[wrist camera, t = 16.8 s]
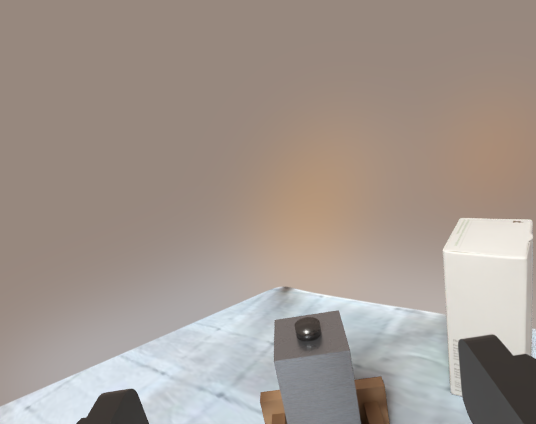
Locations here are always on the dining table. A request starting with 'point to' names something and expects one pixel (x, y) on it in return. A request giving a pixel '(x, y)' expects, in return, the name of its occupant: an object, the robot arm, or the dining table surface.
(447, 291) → the skincare box
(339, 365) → the brushed steel pillar
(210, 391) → the dining table surface
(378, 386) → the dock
